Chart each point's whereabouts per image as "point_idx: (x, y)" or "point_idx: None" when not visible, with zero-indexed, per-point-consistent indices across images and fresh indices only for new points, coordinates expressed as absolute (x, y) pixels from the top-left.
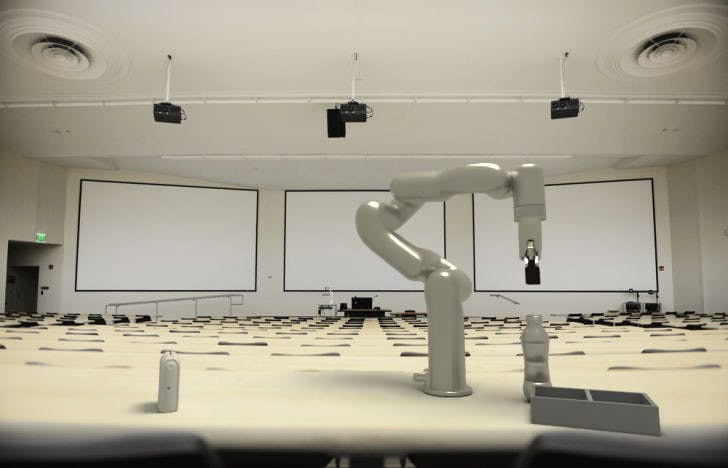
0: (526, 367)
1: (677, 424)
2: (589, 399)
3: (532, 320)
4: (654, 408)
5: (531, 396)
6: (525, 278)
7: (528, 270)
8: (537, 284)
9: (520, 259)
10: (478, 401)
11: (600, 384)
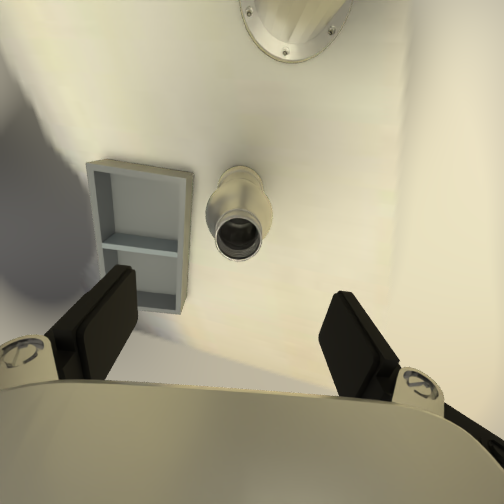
0: (229, 179)
1: (171, 314)
2: (109, 245)
3: (216, 227)
4: None
5: (90, 165)
6: (101, 279)
7: (50, 329)
8: (323, 328)
9: (121, 381)
10: (218, 75)
11: (369, 293)
